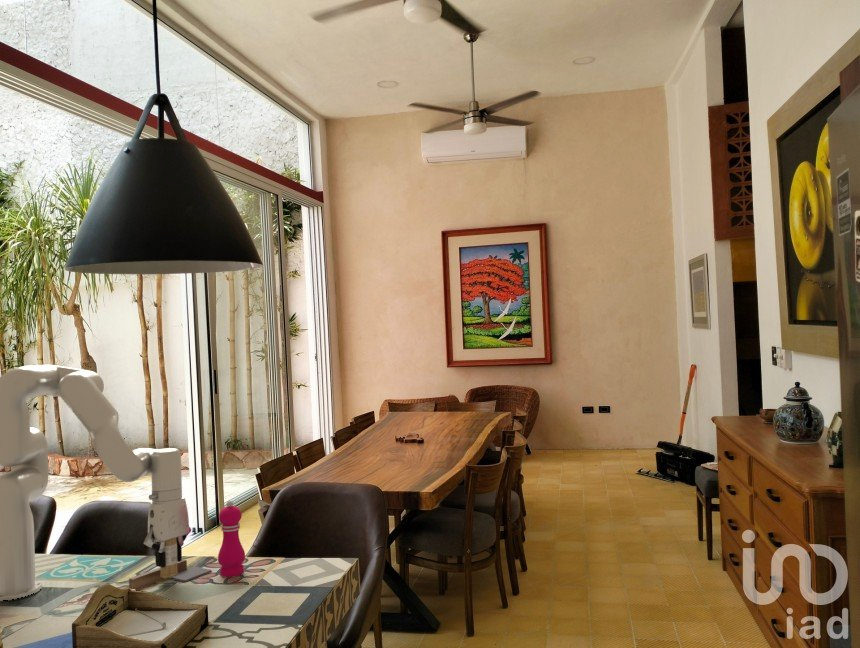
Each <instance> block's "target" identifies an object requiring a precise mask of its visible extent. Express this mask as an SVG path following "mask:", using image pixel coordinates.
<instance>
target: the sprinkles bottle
mask: <svg viewBox="0 0 860 648" xmlns="http://www.w3.org/2000/svg"><path fill="white" fill-rule="evenodd" d="M163 552H165V557H166V566H165V567H159V568H160V573H161V574H160V576H161V577H163V578H167V579H169V578H170V577H174V576H176V575H177V574H178V571H177V539H176V538H174V539H170V540H167V541H165V543H164V549H163Z"/></svg>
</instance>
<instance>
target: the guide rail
mask: <svg viewBox="0 0 860 648" xmlns="http://www.w3.org/2000/svg"><path fill="white" fill-rule="evenodd" d="M187 564H188V562H187V559H182V561H180V562H178V561H177V571H178V572H181V571H184V570H186V569H188V565H187ZM160 574H161V573H160V567H158V568H155V569H152V570H149V571H146V572H144V573H141V574H138V575H135V576H132V577H129V578H128V587H129V588H131V589H137V590H139V589H142V588H145V587H148V586H150V585H152V584H155V583H158V582H160V581H164V580H166V579H168V578H163V577H161V576H160ZM129 588H128V589H129Z"/></svg>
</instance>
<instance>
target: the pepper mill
mask: <svg viewBox="0 0 860 648" xmlns="http://www.w3.org/2000/svg"><path fill="white" fill-rule="evenodd" d="M242 515H243V514H242V511H241V509H240V508H239V507H238V506H235V505H234V502H233V501H232V500H228V501H227V502H226V506H225V507H223V508H222V509H221V510H220V511H219V514H218V520H219V523H221V525H220V527H221V531H222V543H221V546H220V549H219V551H218V554H217V556H218V557H217V562H218V564H219V565H220V566H221V567H219V575H220V576H221V577H222V576H223V578H233V577H232V576H235V577H238V575H239V576H241V575H243V574H244V572H245V568H244V564H243V562H244V561H245V560H246V552H245V549H244V547H243V545H242V543H241V540H240V535H239V531H240V529H241V523H240V521H241V519H242ZM242 573H243V574H242ZM240 574H241V575H240Z"/></svg>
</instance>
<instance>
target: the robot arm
mask: <svg viewBox="0 0 860 648" xmlns="http://www.w3.org/2000/svg"><path fill="white" fill-rule="evenodd" d="M104 389H105V384H104V381H103V378H102V376H101V375H99V374H98V373H97V372H95V371H92V370H88V369H80V368H73V367H67V366H62V365H61V366H60V365H55V364H29V365H28V364H27V365H23V366H18V367H15V368H12V369H10V370H9V371H6V372H5V373H3V374H2V375H1V376H0V467H3V468H11V470H10V471H8V472H5V473H3V474H1V475H0V602H4V601H3V600H8V601H13V600H12V599H14V600H18V599H17V598H19V599H22V598H21V597H23V598H25V596H26V597H29V596H32V595H34V594H36V593H38V592H39V591H41V590H42V589H43V583H42V581H40V580H36V559H35V558H36V557H35V556H36V554H35V550H36V549H35V525H34V524H35V523H34V515H33V511H32V510H31V505H30V503H31V502H32V501H34V500H36V499H38V498H39V497H41V496H42V495H43V494H44V493H45V491H46V490H47V487H48V483H49V447H48V446H49V444H48V440H47V438H46V436H45V434H44V433H43V431H41V430H40V429H39V428H36V427H34V426H31V425H30V422H31V420H30V419H31V418H30V417H31V416H30V415H31V413H30V409H29V405H28V404H27V400H29V399H30V398H34V397H35V398H36V397H42V396H51V397H59V398H60V399H61V400H63V403H65V404H66V406H67V408H69V409H70V410H71V412H72V413H73V414H74V415H75V416H76V418H77V419H78V420H79V421H80V423H81V424H82V425H83V426H84V428H85V429H86V431H87V432H88V433H89V437H90V440H91V442H92V445H93V447H94V450H95V452H96V454H97V456H98V458H99V459H100V460H101V462H102V463H103V464H104V465H105V467H106V468H107V469H108V470H109V471H110V473H111V474H112V475H113V476H114V477H115V478H116V479H118V480H119V481H121V482H123V483H125V482H126V483H132V482H135V481H137V480H139V479H141V478H143V477H144V476H147V475H151V494H149V495H148V499H149V500H150V501H151V502H150V504H149V508H148V519H147V535H146V537H145V538H144V541H143V545H144V546H147V547H149V548H150V549H151V550H152V551H153V552H154V553H155V554H154V555H155V556H154V558H155V566H156V567H158V568H160V567H165V566H166V557H165V552H163V549H164V543H165V541H167V540H170V539H174V538H176V539H177V561H178V562H180V561H182V558H183V557H182V555H183V554H182V553H183V552H182V551H183V550H182V547H183V546H184V545H185V543H184V542H185V540H186V539H187V537H188V536H189V534H190V533H191V532H192V528H191V527H190V520H189V519H190V517H189V510H188V506H187V505H188V504H187V502H186V498H185V497H184V496H183V484H182V483H183V481H182V480H183V479H182V453H181V451H180V449H179V448H176V447H165V448H147V447H139V448H135V449H131V447H130V446H129V445H128V444H127V443H126V441H125V439H124V438H123V436H122V434H121V432H120V429H119V416H120V415H119V413H118V411H117V409H116V408H115V407H114V406H113V405H112V403H111V402H110V400H108V398H107V397H106V396H105V394H104V393H103V392H104ZM40 589H41V590H40ZM33 593H34V594H33ZM31 594H32V595H31ZM28 595H29V596H28Z"/></svg>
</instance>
